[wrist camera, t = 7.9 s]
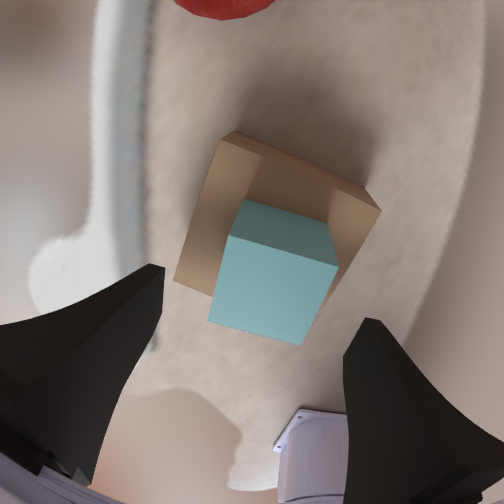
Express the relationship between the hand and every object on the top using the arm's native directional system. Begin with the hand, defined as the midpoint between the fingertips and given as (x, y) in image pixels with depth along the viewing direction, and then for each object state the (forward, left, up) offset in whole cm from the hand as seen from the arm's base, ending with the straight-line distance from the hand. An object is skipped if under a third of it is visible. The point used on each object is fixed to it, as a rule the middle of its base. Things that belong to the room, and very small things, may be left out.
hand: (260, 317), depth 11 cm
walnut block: (0, 0, -9) cm, 9 cm away
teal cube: (0, 0, -5) cm, 5 cm away
